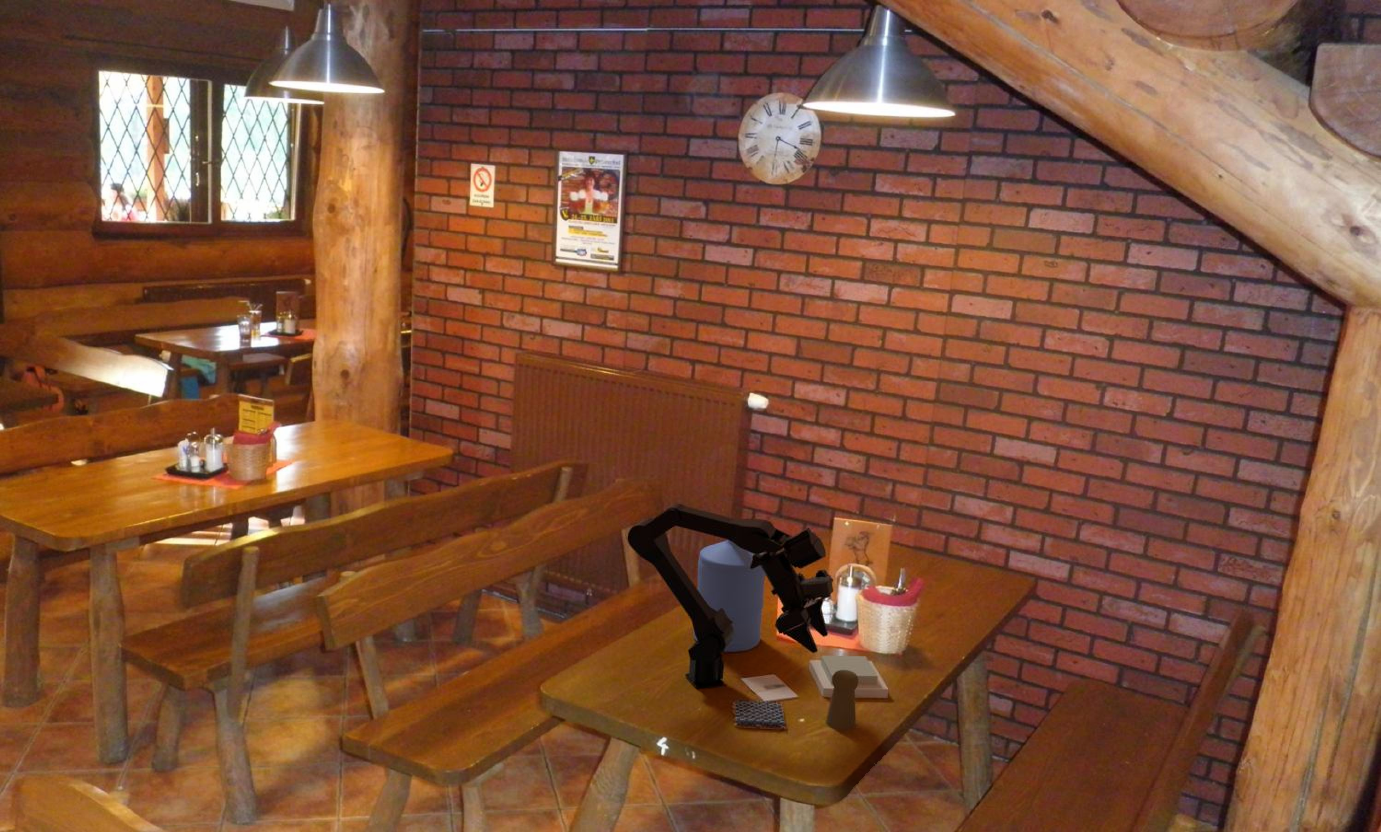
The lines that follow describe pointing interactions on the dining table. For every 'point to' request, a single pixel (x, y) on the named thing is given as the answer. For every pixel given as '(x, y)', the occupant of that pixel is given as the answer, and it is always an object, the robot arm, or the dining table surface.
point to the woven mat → (759, 714)
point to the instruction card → (769, 688)
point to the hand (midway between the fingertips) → (820, 643)
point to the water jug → (733, 590)
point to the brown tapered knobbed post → (843, 701)
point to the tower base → (858, 690)
